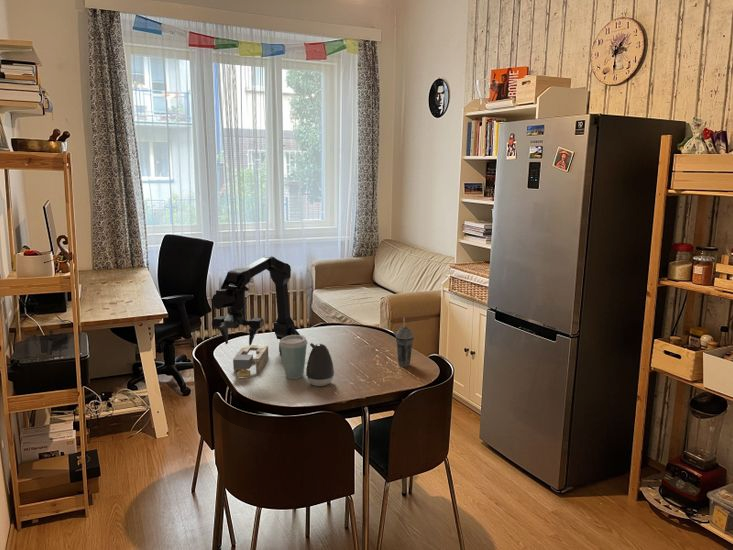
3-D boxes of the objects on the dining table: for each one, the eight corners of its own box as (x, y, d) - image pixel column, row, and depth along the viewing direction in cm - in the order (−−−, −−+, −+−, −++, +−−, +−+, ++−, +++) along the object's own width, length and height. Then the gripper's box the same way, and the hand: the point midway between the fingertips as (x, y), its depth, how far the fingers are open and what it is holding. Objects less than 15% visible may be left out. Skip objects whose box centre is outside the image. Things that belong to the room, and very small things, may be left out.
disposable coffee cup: (300, 382, 212) (299, 343, 209) (274, 378, 216) (273, 340, 213) (312, 373, 222) (312, 335, 219) (287, 369, 226) (287, 332, 223)
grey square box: (253, 373, 222) (252, 354, 220) (249, 378, 216) (248, 360, 215) (238, 372, 222) (237, 354, 221) (233, 378, 216) (233, 359, 215)
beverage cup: (415, 363, 233) (416, 315, 229) (409, 369, 227) (410, 320, 223) (399, 360, 236) (399, 313, 232) (392, 366, 230) (392, 317, 226)
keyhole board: (268, 358, 238) (268, 345, 237) (259, 372, 223) (258, 358, 222) (244, 357, 239) (244, 345, 238) (233, 371, 223) (233, 358, 222)
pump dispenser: (322, 376, 219) (321, 338, 216) (339, 384, 211) (339, 344, 208) (300, 383, 212) (299, 343, 209) (318, 391, 204) (317, 350, 202)
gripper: (204, 307, 208) (206, 349, 211) (254, 310, 205) (255, 352, 208) (216, 301, 219) (218, 340, 221) (264, 303, 216) (264, 343, 219)
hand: (238, 344), depth 217 cm, fingers open, 9 cm apart
